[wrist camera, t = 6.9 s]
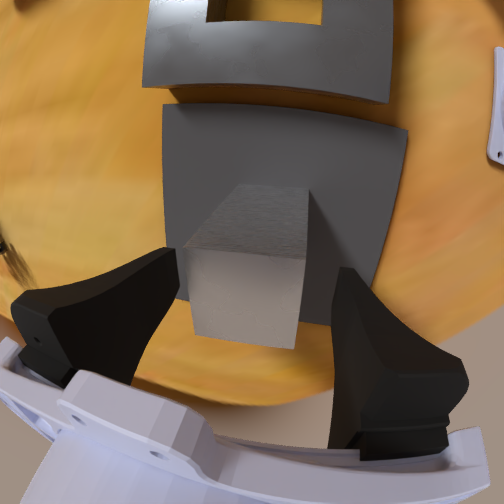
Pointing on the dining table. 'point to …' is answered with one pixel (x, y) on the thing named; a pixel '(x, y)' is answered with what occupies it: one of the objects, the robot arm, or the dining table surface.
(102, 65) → the dining table surface
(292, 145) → the rubber mat
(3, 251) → the valve
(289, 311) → the steel peg
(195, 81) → the socket block
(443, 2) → the dining table surface
